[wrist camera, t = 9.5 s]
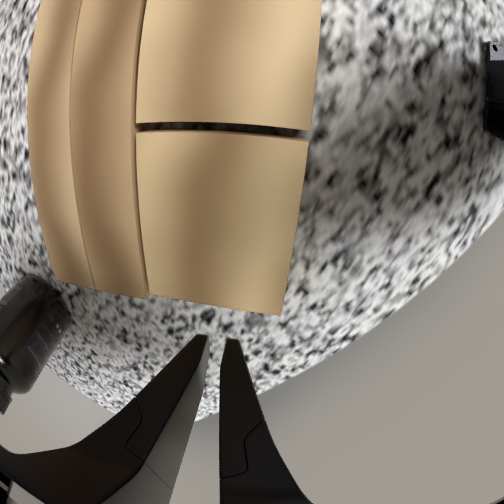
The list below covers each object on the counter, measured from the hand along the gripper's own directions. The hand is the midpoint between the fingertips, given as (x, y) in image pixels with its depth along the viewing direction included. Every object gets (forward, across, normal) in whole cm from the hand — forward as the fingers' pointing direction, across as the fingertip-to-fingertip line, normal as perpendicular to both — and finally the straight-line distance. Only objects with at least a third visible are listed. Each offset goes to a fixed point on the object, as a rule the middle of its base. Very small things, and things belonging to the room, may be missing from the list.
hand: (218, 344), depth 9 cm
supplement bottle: (+8, +18, +8) cm, 22 cm away
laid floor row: (+8, +10, -6) cm, 14 cm away
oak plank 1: (+7, +1, -11) cm, 14 cm away
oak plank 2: (+7, +1, -1) cm, 8 cm away
